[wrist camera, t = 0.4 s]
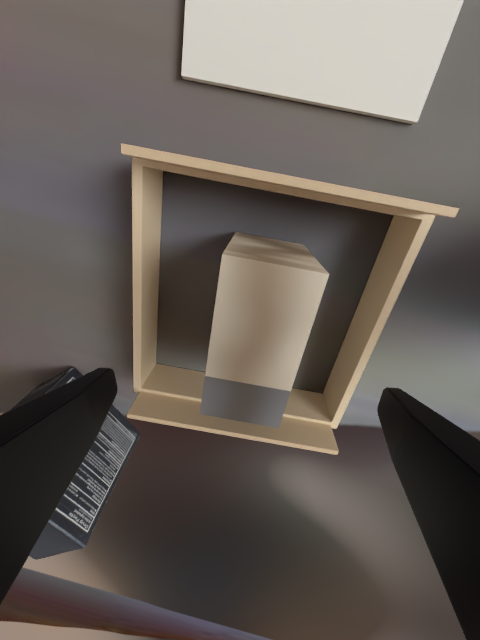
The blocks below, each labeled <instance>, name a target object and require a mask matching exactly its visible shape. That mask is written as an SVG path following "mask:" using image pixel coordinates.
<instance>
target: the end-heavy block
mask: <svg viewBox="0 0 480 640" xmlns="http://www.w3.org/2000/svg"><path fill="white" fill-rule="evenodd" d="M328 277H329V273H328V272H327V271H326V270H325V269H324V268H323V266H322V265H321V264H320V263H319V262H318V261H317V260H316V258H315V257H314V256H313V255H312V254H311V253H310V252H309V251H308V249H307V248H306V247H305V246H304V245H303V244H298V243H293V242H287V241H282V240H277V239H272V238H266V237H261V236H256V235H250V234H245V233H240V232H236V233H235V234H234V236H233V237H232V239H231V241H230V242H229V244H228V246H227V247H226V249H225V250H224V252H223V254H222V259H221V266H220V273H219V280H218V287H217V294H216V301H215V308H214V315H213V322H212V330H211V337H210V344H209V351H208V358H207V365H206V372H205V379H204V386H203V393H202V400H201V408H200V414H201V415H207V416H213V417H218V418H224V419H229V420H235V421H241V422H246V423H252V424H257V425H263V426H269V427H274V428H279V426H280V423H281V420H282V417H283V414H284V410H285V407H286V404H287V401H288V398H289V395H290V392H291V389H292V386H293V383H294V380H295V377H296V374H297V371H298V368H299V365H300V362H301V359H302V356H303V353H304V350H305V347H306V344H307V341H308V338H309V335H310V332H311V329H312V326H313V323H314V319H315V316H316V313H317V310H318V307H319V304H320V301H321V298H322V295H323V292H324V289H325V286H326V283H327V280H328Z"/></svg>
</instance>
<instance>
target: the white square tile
mask: <svg viewBox="0 0 480 640" xmlns="http://www.w3.org/2000/svg"><path fill="white" fill-rule="evenodd" d="M463 1H464V0H185V17H184V35H183V52H182V70H181V76H182V78H183V79H186V80H191V81H196V82H201V83H206V84H211V85H216V86H221V87H226V88H231V89H236V90H242V91H247V92H252V93H257V94H262V95H267V96H272V97H277V98H282V99H287V100H292V101H297V102H302V103H307V104H312V105H318V106H323V107H328V108H333V109H338V110H343V111H348V112H353V113H358V114H363V115H368V116H373V117H378V118H383V119H388V120H394V121H399V122H404V123H409V124H415V123H417V122H418V119H419V117H420V114H421V111H422V109H423V106H424V104H425V101H426V98H427V96H428V93H429V90H430V88H431V85H432V83H433V80H434V77H435V75H436V72H437V70H438V67H439V64H440V62H441V59H442V56H443V54H444V51H445V49H446V46H447V43H448V41H449V38H450V35H451V33H452V30H453V28H454V25H455V22H456V20H457V17H458V14H459V12H460V9H461V7H462V4H463Z"/></svg>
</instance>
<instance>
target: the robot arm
mask: <svg viewBox="0 0 480 640" xmlns="http://www.w3.org/2000/svg"><path fill="white" fill-rule="evenodd" d="M116 394H117V384H116V379H115V374H114V371H113V370H112V369H111V368H98V369H96V370H94V371H92V372H90V373H88V374H85V375H83V376H81V377H79V378H77V379H75V380H73V381H71V382H69V383H67V384H65V385H62V386H60V387H58V388H56V389H54V390H52V391H50V392H48V393H46V394H44V395H42V396H39V397H37V398H35V399H33V400H31V401H29V402H27V403H25V404H23V405H21V406H19V407H17V408H14V409H12V410H10V411H8V412H6V413H4V414H2V415H0V605H1V603H2V601H3V600H4V598H5V596H6V594H7V593H8V591H9V589H10V587H11V586H12V584H13V582H14V580H15V579H16V577H17V575H18V574H19V572H20V570H21V568H22V567H23V565H24V563H25V561H26V560H27V558H28V556H29V554H30V553H31V551H32V549H33V547H34V546H35V544H36V542H37V541H38V539H39V537H40V535H41V534H42V532H43V530H44V528H45V527H46V525H47V523H48V521H49V520H50V518H51V516H52V515H53V513H54V511H55V509H56V508H57V506H58V504H59V502H60V501H61V499H62V497H63V495H64V494H65V492H66V490H67V488H68V487H69V485H70V483H71V482H72V480H73V478H74V476H75V475H76V473H77V471H78V469H79V468H80V466H81V464H82V462H83V461H84V459H85V457H86V455H87V454H88V452H89V450H90V449H91V447H92V445H93V443H94V442H95V440H96V438H97V436H98V434H99V432H100V430H101V428H102V426H103V423H104V421H105V419H106V417H107V414H108V412H109V410H110V408H111V406H112V403H113V401H114V399H115V397H116ZM378 416H379V419H380V423H381V426H382V429H383V433H384V436H385V439H386V443H387V446H388V449H389V453H390V456H391V459H392V461H393V464H394V467H395V469H396V472H397V474H398V476H399V479H400V481H401V484H402V486H403V488H404V491H405V493H406V496H407V498H408V501H409V503H410V505H411V508H412V510H413V513H414V515H415V517H416V520H417V522H418V525H419V527H420V529H421V532H422V534H423V536H424V539H425V541H426V544H427V546H428V549H429V551H430V553H431V556H432V558H433V561H434V563H435V566H436V568H437V570H438V573H439V575H440V577H441V580H442V582H443V585H444V587H445V590H446V592H447V594H448V597H449V599H450V602H451V604H452V606H453V609H454V611H455V613H456V616H457V618H458V621H459V623H460V625H461V628H462V630H463V633H464V635H465V638H466V640H480V441H479V440H478V439H476V438H475V437H473V436H472V435H470V434H469V433H467V432H466V431H464V430H462V429H461V428H459V427H458V426H456V425H455V424H453V423H452V422H450V421H449V420H447V419H446V418H444V417H442V416H441V415H439V414H438V413H436V412H435V411H433V410H432V409H430V408H429V407H427V406H426V405H424V404H422V403H421V402H419V401H418V400H416V399H415V398H413V397H412V396H410V395H409V394H407V393H406V392H404V391H402V390H401V389H399V388H385V389H384V390H383V393H382V396H381V399H380V402H379V405H378Z"/></svg>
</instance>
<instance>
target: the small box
mask: <svg viewBox="0 0 480 640" xmlns="http://www.w3.org/2000/svg"><path fill="white" fill-rule="evenodd" d="M81 376H82V375H81V374H80V373H79V372H78V371H77V370H76V369H75V368H68V369H67V370H66V371H65V372H63V373H61V374H60V375H58V376H56V377H54V378H52V379H50V380H49V381H47V382H44V383H42V384H41V385H39V386H38V387H37V388H35V389H34V390H32V391H31V392H30V393H29V394H28V395H27V396H26V397H25V398H24V399H22V400H21V401H20V402H19V403H18V404H17V405H16V406H15V407H13V408H12V409H14V408H17V407H19V406H21V405H23V404H25V403H27V402H29V401H31V400H33V399H35V398H37V397H39V396H42V395H44V394H46V393H48V392H50V391H52V390H54V389H56V388H58V387H60V386H62V385H65V384H67V383H69V382H71V381H73V380H75V379H77V378H79V377H81ZM12 409H11V410H12ZM140 435H141V434H140V433H139V432H138V431H137V430H136V429H135V428H134V427H133V426H132V425H131V424H130V423H129V422H128V421H127V420H126V419H125V418H124V417H123V416H122V415H121V414H120V413H119V412H118V411H117V410H116V409H115V408H114V407H113V406H111V408H110V410H109V412H108V414H107V417H106V419H105V421H104V423H103V426H102V428H101V430H100V432H99V434H98V436H97V438H96V440H95V442H94V443H93V445H92V447H91V449H90V450H89V452H88V454H87V455H86V457H85V459H84V461H83V462H82V464H81V466H80V468H79V469H78V471H77V473H76V475H75V476H74V478H73V480H72V482H71V483H70V485H69V487H68V488H67V490H66V492H65V494H64V495H63V497H62V499H61V501H60V502H59V504H58V506H57V508H56V509H55V511H54V513H53V515H52V516H51V518H50V520H49V521H48V523H47V525H46V527H45V528H44V530H43V532H42V534H41V535H40V537H39V539H38V541H37V542H36V544H35V546H34V547H33V549H32V551H31V553H30V554H29V556H31V557H32V558H34V559H41V558H45V557H49V556H53V555H56V554H60V553H64V552H68V551H72V550H77V549H82V548H85V547H86V545H87V543H88V540H89V539H90V536H91V534H92V531H93V529H94V527H95V525H96V523H97V521H98V518H99V516H100V514H101V512H102V510H103V508H104V507H105V504H106V502H107V500H108V498H109V496H110V495H111V493H112V490H113V488H114V486H115V484H116V482H117V480H118V478H119V476H120V474H121V472H122V470H123V468H124V466H125V464H126V462H127V460H128V458H129V456H130V454H131V452H132V450H133V448H134V446H135V444H136V442H137V440H138V439H139V437H140Z"/></svg>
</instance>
